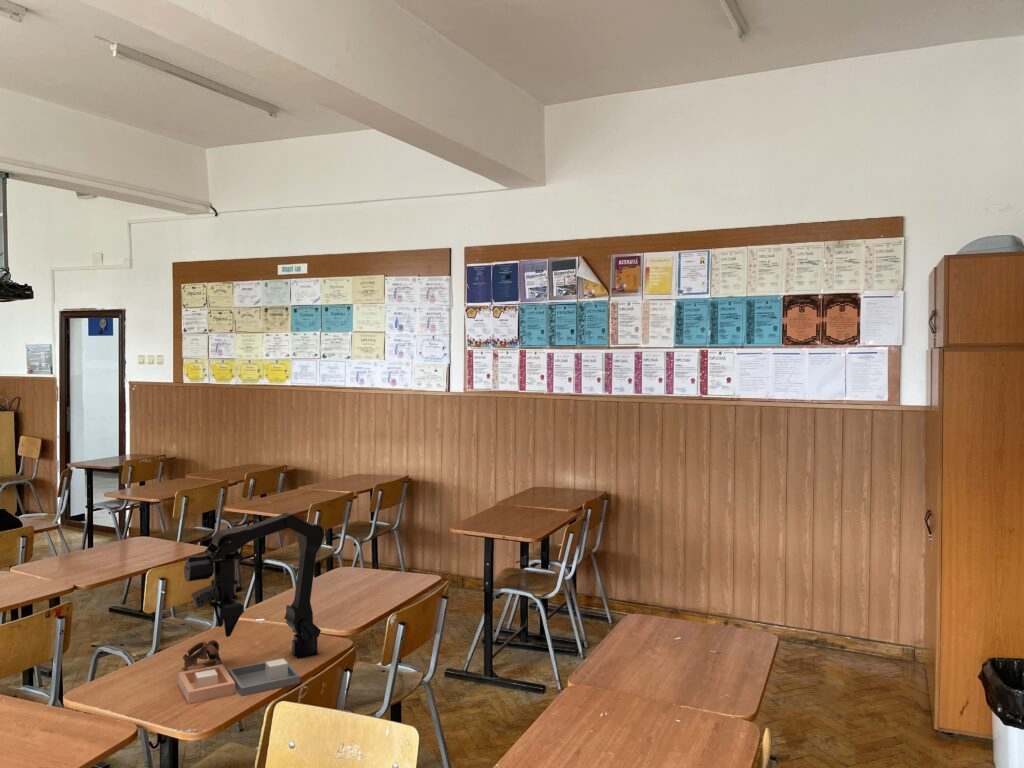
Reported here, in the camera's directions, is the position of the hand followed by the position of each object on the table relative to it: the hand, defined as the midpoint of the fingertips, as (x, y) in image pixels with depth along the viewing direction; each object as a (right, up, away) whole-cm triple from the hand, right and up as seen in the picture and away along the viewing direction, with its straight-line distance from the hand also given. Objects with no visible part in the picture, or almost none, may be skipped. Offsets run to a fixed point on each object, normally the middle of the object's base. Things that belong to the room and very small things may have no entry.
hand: (224, 631), depth 211 cm
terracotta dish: (-1, -12, -11) cm, 16 cm away
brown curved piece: (-7, -12, +5) cm, 15 cm away
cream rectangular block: (-1, -12, -11) cm, 16 cm away
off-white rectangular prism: (+15, -12, -3) cm, 20 cm away
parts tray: (+13, -12, -4) cm, 18 cm away
